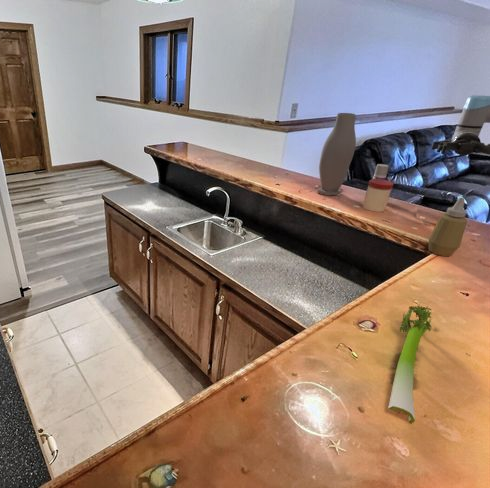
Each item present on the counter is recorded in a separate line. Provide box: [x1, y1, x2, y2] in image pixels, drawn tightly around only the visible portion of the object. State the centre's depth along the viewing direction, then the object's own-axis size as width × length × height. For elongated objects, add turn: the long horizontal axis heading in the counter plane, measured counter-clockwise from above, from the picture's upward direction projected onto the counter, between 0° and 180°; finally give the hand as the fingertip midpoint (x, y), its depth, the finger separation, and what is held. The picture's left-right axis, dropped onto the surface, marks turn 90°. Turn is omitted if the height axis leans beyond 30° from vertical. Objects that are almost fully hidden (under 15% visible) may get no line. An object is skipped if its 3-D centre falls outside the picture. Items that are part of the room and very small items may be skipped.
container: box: [372, 163, 390, 180], centre depth 153 cm, size 5×5×15 cm
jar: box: [362, 184, 393, 213], centre depth 143 cm, size 8×8×10 cm
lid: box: [368, 178, 395, 190], centre depth 141 cm, size 8×8×2 cm
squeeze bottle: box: [427, 196, 468, 257], centre depth 106 cm, size 8×8×18 cm
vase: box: [316, 112, 357, 196], centre depth 155 cm, size 13×13×35 cm
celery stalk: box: [387, 305, 433, 425], centre depth 67 cm, size 6×7×30 cm
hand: (470, 152), depth 112 cm, fingers open, 13 cm apart
